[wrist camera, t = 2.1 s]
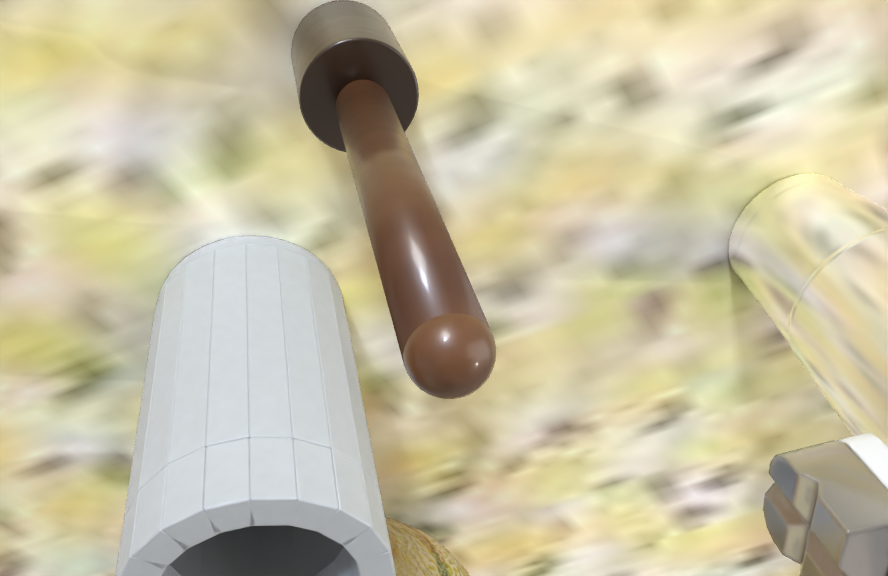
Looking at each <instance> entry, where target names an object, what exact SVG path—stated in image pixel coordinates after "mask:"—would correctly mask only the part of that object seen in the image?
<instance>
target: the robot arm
mask: <svg viewBox="0 0 888 576" xmlns="http://www.w3.org/2000/svg"><path fill="white" fill-rule="evenodd" d="M769 474H770V476H771V477H772V479H773V480H774V481H775V483H774V484H773V485H772V486H771V488H770V489H769V490H768V491H767V492H766V493H765V498H764V506H763V511H764V516H765V520H766V525H767V528H768V530H769V533H770V535H771V537H772V539H773V541H774V543H775V544H776V546H777V547H778V549H779V550H780V552H781V553H782V555H784V556H786V557H788V558H790V559H792V560H793V561H795V562H797V563H799V564H800V576H888V447H887V446H886V445H885V444H884V443H883V441H882V440H881V439H880V438H878V437H877V436H875V435H873V434H871V433H866V434H861V435H857V436H853V437H849V438H845V439H841V440H837V441H829V442H825V443H821V444H817V445H813V446H809V447H805V448H802V449H798V450H794V451H790V452H786V453H782V454H778V455H776V456H775V457H774V458H773V459H772V460H771V463H770V468H769Z"/></svg>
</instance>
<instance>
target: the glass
mask: <svg viewBox="0 0 888 576" xmlns="http://www.w3.org/2000/svg"><path fill="white" fill-rule="evenodd" d="M728 254H729V260H730V264H731V266H732V268H733V270H734V272H735V273H736V275H737V276H738V277H739V278H740V279H741V280H742V281H743V282H744V284H745V285H746V287H747V288H748V289H749V291H750V292H751V293H752V295H753V296H754V297H755V299H756V300H757V301H758V303H759V304H760V306H761V307H762V308H763V310H764V311H765V312H766V314H767V315H768V316H769V318H770V319H771V320H772V322H773V323H774V324H775V326H776V327H777V328H778V330H779V331H780V332H781V334H782V335H783V336H784V338H785V339H786V341H787V342H788V343H789V345H790V346H791V348H792V350H793V352H794V354H795V356H796V358H797V359H798V360H799V362H800V363H801V365H802V366H803V367H804V369H805V370H806V371H807V373H808V374H809V376H810V377H811V378H812V380H813V381H814V383H815V384H816V385H817V387H818V388H819V389H820V391H821V392H822V394H823V395H824V396H825V398H826V399H827V401H828V402H829V403H830V405H831V406H832V408H833V409H834V410H835V412H836V413H837V414H838V416H839V417H840V419H841V420H842V421H843V423H844V424H845V426H846V427H847V428H848V430H849V431H850V432H851V434H852V435H853V436H857V435H861V434H866V433H871V434H873V435H875V436H877V437H878V438H880V439H881V440H882V441H883V443H884V444H885V445H886V446H887V447H888V210H887V209H885V208H883V207H882V206H880V205H878V204H876V203H874V202H873V201H871V200H869V199H867V198H865V197H863V196H862V195H860V194H858V193H856V192H854V191H853V190H851V189H849V188H847V187H845V186H843V185H841V184H840V183H838V182H837V181H836V180H834V179H833V178H831V177H829V176H826V175H822V174H817V173H804V174H797V175H793V176H790V177H787V178H784V179H782V180H780V181H777V182H776V183H774V184H772V185H770V186H769V187H767V188H766V189H764V190H763V191H762V192H760V193H759V194H758V195H757V196H756V197H755V198H753V199H752V200H751V202H750V203H749V204H748V205H747V206H746V207H745V208H744V210H743V211H742V213H741V214H740V216H739V217H738V219H737V221H736V223H735V225H734V227H733V229H732V232H731V235H730V239H729V247H728Z"/></svg>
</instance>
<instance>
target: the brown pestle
mask: <svg viewBox="0 0 888 576" xmlns="http://www.w3.org/2000/svg"><path fill="white" fill-rule="evenodd" d="M291 56H292V63H293V69H294V75H295V81H296V86H297V92H298V98H299V104H300V109H301V112H302V116H303V118H304V120H305V122H306V124H307V126H308V127H309V129H310V130H311V131H312V133H313V134H314V135H315V136H316V137H317V138H318V139H319V140H321V141H322V142H323V143H325V144H326V145H328V146H330V147H332V148H334V149H337V150H340V151H344V152H347V155H348V159H349V163H350V167H351V170H352V174H353V178H354V181H355V185H356V189H357V192H358V196H359V200H360V203H361V207H362V211H363V214H364V218H365V222H366V226H367V229H368V233H369V237H370V240H371V244H372V248H373V251H374V255H375V259H376V262H377V266H378V270H379V273H380V277H381V281H382V285H383V288H384V292H385V296H386V299H387V303H388V307H389V310H390V314H391V318H392V321H393V325H394V329H395V332H396V336H397V340H398V344H399V347H400V351H401V355H402V358H403V362H404V366H405V368H406V371H407V373H408V375H409V376H410V378H411V380H412V381H413V382H414V383H415V384H416V385H417V386H418V387H419V388H420V389H421V390H423V391H424V392H426V393H428V394H429V395H432V396H434V397H437V398H443V399H455V398H461V397H464V396H467V395H469V394H471V393H473V392H474V391H476V390H477V389H479V388H480V387H481V386H482V385H483V384H484V383H485V382H486V380H487V379H488V378H489V376H490V374H491V372H492V370H493V367H494V364H495V358H496V346H495V341H494V337H493V334H492V332H491V329H490V327H489V325H488V322H487V320H486V318H485V316H484V313H483V311H482V309H481V306H480V304H479V302H478V300H477V297H476V295H475V293H474V290H473V288H472V286H471V284H470V281H469V279H468V277H467V274H466V272H465V270H464V268H463V265H462V263H461V261H460V258H459V256H458V254H457V252H456V249H455V247H454V245H453V242H452V240H451V238H450V236H449V233H448V231H447V229H446V226H445V224H444V222H443V220H442V217H441V215H440V213H439V210H438V208H437V206H436V204H435V201H434V199H433V197H432V194H431V192H430V190H429V187H428V185H427V183H426V181H425V178H424V176H423V174H422V171H421V169H420V167H419V165H418V162H417V160H416V158H415V155H414V153H413V151H412V149H411V146H410V144H409V142H408V139H407V137H406V135H405V133H404V132H405V131H406V129H407V128H408V127H409V125H410V124H411V122H412V120H413V118H414V115H415V113H416V110H417V105H418V97H419V92H418V83H417V79H416V76H415V73H414V71H413V69H412V67H411V65H410V63H409V61H408V60H407V58H406V56H405V54H404V52H403V50H402V49H401V47H400V45H399V43H398V41H397V40H396V38H395V36H394V34H393V32H392V31H391V29H390V27H389V25H388V24H387V22H386V21H385V20H384V19H383V17H382V16H381V15H380V14H379V13H377V12H376V11H375V10H373V9H372V8H370V7H369V6H366V5H364V4H362V3H359V2H355V1H349V0H339V1H332V2H328V3H326V4H323V5H321V6H319V7H317V8H315V9H314V10H313V11H311V12H310V13H309V14H308V15H307V16H306V17H305V18H304V19H303V20H302V21H301V23H300V24H299V26H298V28H297V30H296V32H295V34H294V38H293V41H292V48H291Z"/></svg>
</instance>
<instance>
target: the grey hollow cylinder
mask: <svg viewBox="0 0 888 576" xmlns="http://www.w3.org/2000/svg"><path fill="white" fill-rule="evenodd" d="M115 576H396V572H395V566H394V561H393V556H392V551H391V546H390V540H389V535H388V530H387V525H386V520H385V514H384V509H383V504H382V499H381V493H380V488H379V483H378V478H377V473H376V467H375V462H374V457H373V452H372V447H371V441H370V436H369V431H368V426H367V421H366V415H365V410H364V405H363V400H362V394H361V389H360V384H359V379H358V374H357V368H356V363H355V358H354V353H353V348H352V342H351V337H350V332H349V327H348V322H347V316H346V312H345V307H344V301H343V297H342V293H341V290H340V287H339V285H338V283H337V281H336V279H335V277H334V276H333V274H332V273H331V271H330V270H329V269H328V268H327V267H326V266H325V264H324V263H323V262H322V261H320V260H319V259H318V258H317V257H316V256H314V255H313V254H311V253H310V252H308V251H307V250H305V249H303V248H301V247H299V246H297V245H295V244H293V243H290V242H287V241H284V240H281V239H276V238H271V237H263V236H240V237H232V238H227V239H223V240H219V241H216V242H213V243H211V244H208V245H206V246H204V247H202V248H200V249H198V250H196V251H194V252H193V253H191V254H190V255H189V256H187V257H186V258H184V259H183V260H182V261H181V262H180V263H179V264H178V265H177V266H176V267H175V268H174V269H173V270H172V272H171V273H170V274H169V275H168V277H167V279H166V280H165V282H164V284H163V286H162V288H161V291H160V293H159V297H158V301H157V305H156V308H155V313H154V320H153V327H152V334H151V340H150V347H149V354H148V360H147V367H146V374H145V381H144V387H143V394H142V401H141V408H140V414H139V421H138V428H137V434H136V441H135V448H134V455H133V461H132V468H131V475H130V481H129V488H128V495H127V502H126V508H125V515H124V522H123V528H122V535H121V542H120V549H119V555H118V562H117V569H116V575H115Z"/></svg>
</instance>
